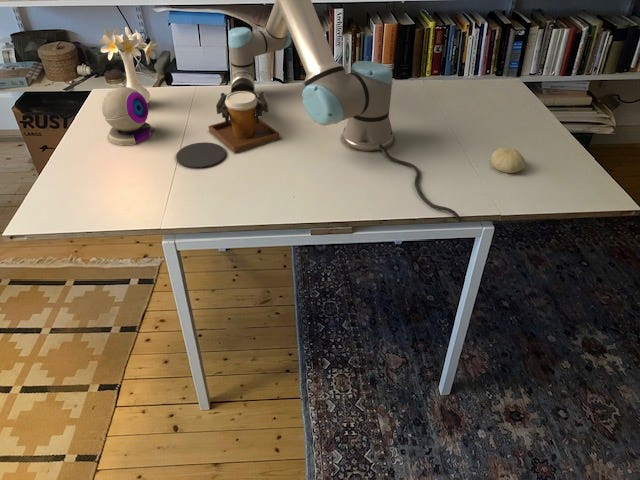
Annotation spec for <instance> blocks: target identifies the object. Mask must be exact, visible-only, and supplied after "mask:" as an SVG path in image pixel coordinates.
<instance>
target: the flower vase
mask: <svg viewBox="0 0 640 480" xmlns="http://www.w3.org/2000/svg"><path fill="white" fill-rule="evenodd" d="M124 31H125V32H124V33H123V34H120V35H119V33H120V29H119V27H118V28H115V29H114V30H113V32H111V31H110V30H109V29H104V30H103V35H102V37H101V38H100V39H98V43H99V44H105V45H103V46H101V48H100V53H102V54H103V53H104V54H105V53H107V59H108V61H111V60H112V59H113V56H114V54H117V53H118V54H119V55H120V57H121V59H122V62H123V65H124V70H125V71H124V72H125V75H126V85H125V87H129V88H132V89H135V90H136V91H138V92H139V93H140V94H141V95H142V96H143V97H144V98H145V100H146V102H147V104H148V103H150V100H151V98H152V96H151V93H150V91H149V90H148V89H147V88H146V87H145V86H143V85H142V83H141V82H140V81H139V78H138V75H137V71H136V68H135V64H134V56H136V57H141V56H142V53H141V51H140V50H142V51H144V55H145V57H146V64H147V65H149V64H150V62H151V59H152V60H155V59H156V57H157V55H156V53H155V52H154V50H156V48H157V47H158V44H159V43H158V42H155V43H154V41H153V40H150V42H149V43H148V44H147V43H146V42H145V41H144V39H143V36H142V35H141V33H140V32H138V31H137V29H136V28H135V33H133V34H132V31H131V30H130V28H129V27H127V26H125V27H124ZM139 49H140V50H139Z"/></svg>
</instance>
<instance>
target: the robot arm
mask: <svg viewBox="0 0 640 480" xmlns="http://www.w3.org/2000/svg"><path fill="white" fill-rule="evenodd" d="M291 40H292V41H291ZM291 43H293V44H294V47H295V49H296V52H297V54H298V57H299V59H300V61H301V64H302V67H303V69H304V72H305V74H306V75H305V79H304V81H303V85H304V86H305V88H304V89H303V91H302V93H301V95H302V104H303V108H304V110H305V111H306V113H307V115H308V116H309V117H310V119H311V120H312V121H313V122H315V123H317V124H319V125H321V126H330V125H335V124H339V123H340V122H342V121H345V120H347V121H346V125H345V127H344V128H343V131H342V141H343V143H344V144H345V145H346V146H347V147H349V148H351V149H353V150H357V151H362V152H376V151H382V152H383V153H384V155H385V156H386V157H387V158H388V159H389V160H390V161H392V162H395V163H398V164H400V165H404V166H407V167H410V168H412V169H413V170H414V171H415V172H416V173H415V174H416V175H415V178H414V187H415V190H416V192H417V194H418V196H419V197H420V198H421V200H422V201H423V202H424V203H426V204H427V205H428V206H430V208H433V209H435V210H440V211H445V212H448V213H450V214H452V215H453V216H454V217H455V218H456V220H457V221H458V222H462V218H461V217H460V215H459V214H458V213H457V212H456V211H455V210H454V209H452V208H450V207H446V206H441V205H438V204H435V203H432V202H431V201H430V200H428V199H427V197H425V196H424V194H423V192H422V191H421V189H420V186H419V180H420V179H419V178H420V170H419V168H418V167H417V166H416V165H415V164H413V163H411V162H408V161H404V160H400V159H397V158H395V157H393V156H391V155H390V153H389V152H388V150H387V148H389V147H390V146H391V145H392V144H393V142H394V141H393V140H394V132H393V129H392V125H391V124H392V123H391V120H390V109H391V100H392V99H391V98H392V89H393V83H394V82H393V71H392V69H391V67H389V66H387V65H386V64H383V63H380V62H378V61H376V62H375V61H371V60H370V61H369V60H359V61H355V62H353V63H352V64H351V68H350V70H351V71H350V72H349V73H347V72H346V69H345V66H344V65H343V64H341V63H340V62H339V63H338V62H337V61H336V60H335V59H336V58H335V57H334V55H333V51H332V49H331V47H330V44H329V41H328V39H327V36H326V34H325V32H324V29H323V26H322V24H321V22H320V19H319V17H318V14H317V12H316V9H315V7H314V4H313V1H312V0H275V2H274V4H273V7H272V9H271V12H270V14H269V17H268V20H267V22H266V25H265V27H264V28H263V29H261V30H257V31H252V30H251V29H250V28H248V27H245V26H240V27H239V26H237V27H233V28H230V30H229V31H228V49H229V57H230V69H231V86H230V93H229V94H231V93H233V92H238V91H246V92H251V93H253V94H254V95H255V97H256V99H257V104H256V111H255V116H256V124H259V119H260V117H263V112H264V113H268V112H269V104H268V102H267V99H266V97H265V92H264V91H260V92H259V93H256V90H255V78H256V72H255V66H254V65H255V63H254V57H258V56H263V55H265V54H266V55H267V54H269V53H274V52H279V51H283V50H284V49H287V48H289V47H290V45H291ZM227 95H228V94H225V92H221V93H220V98H219V100H218V101H217V103H216V105H215V107H216V108H215V109H216V114H217V115H220V114H221V118H222V119H225V120H224V121H225V122H226V125H228V124H229V120H230V116H229V112H228V108H227V106H226V104H225V100H226V97H227Z"/></svg>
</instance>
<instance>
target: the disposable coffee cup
mask: <svg viewBox="0 0 640 480" xmlns="http://www.w3.org/2000/svg"><path fill="white" fill-rule="evenodd" d="M230 93H231V92H230ZM230 93H229V94H226V95H227V97H226V100H225V104H226V106H227V108H228V112H229V120H231V125H232V129H233V133H234V136H235V137H237V138H241V139H246V138H250V137H252V136H253V135H254V129H255V116H256V104H257V101H258V98H256V97H255V95H254V94H253V93H251V92H246V91H238V92H233V93H231V94H230Z"/></svg>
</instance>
